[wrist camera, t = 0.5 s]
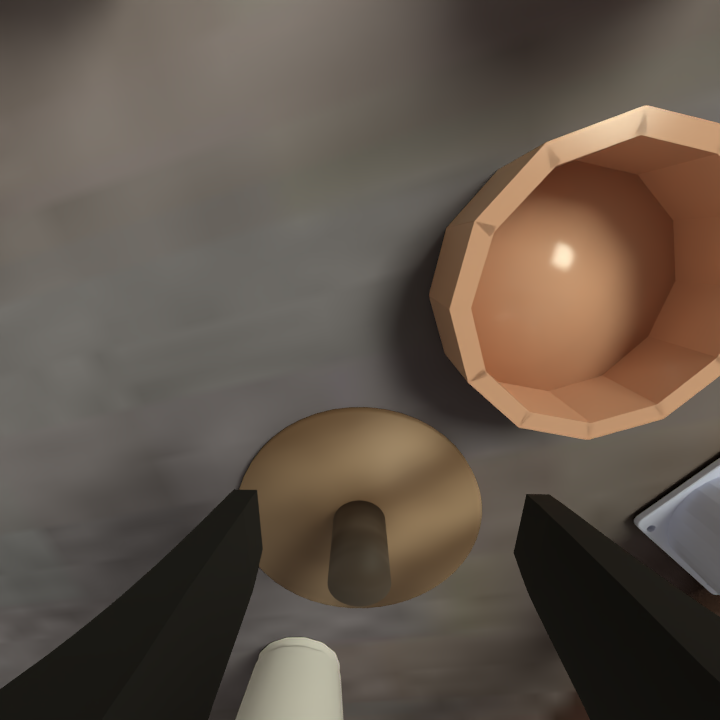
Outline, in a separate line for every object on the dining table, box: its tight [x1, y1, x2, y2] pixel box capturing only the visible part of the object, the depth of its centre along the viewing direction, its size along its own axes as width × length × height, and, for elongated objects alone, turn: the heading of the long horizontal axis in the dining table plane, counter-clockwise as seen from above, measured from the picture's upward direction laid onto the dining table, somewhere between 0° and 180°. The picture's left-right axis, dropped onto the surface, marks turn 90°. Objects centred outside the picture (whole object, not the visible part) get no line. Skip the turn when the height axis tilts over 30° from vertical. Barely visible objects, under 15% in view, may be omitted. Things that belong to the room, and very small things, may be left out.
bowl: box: [429, 105, 720, 440], centre depth 15 cm, size 12×12×4 cm
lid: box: [239, 407, 482, 608], centre depth 19 cm, size 15×15×5 cm
